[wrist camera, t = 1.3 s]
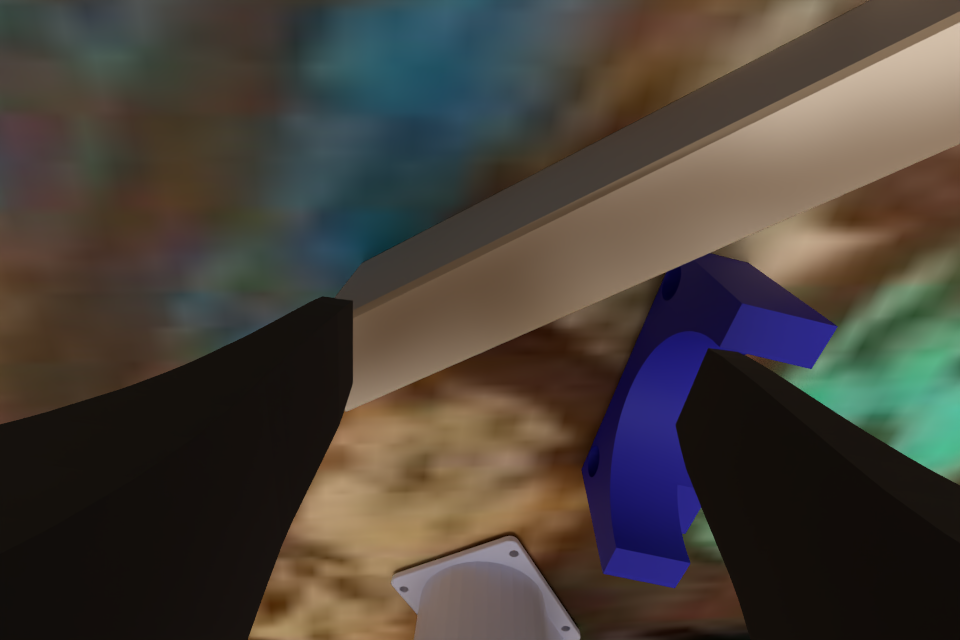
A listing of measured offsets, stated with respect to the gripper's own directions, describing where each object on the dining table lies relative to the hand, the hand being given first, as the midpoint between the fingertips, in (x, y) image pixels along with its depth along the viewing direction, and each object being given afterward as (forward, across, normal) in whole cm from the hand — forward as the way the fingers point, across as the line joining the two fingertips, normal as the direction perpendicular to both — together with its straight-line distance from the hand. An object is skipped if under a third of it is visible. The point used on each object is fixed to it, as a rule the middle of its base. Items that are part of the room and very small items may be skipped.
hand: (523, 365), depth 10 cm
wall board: (+11, -3, -2) cm, 11 cm away
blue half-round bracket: (+10, -8, +7) cm, 15 cm away
